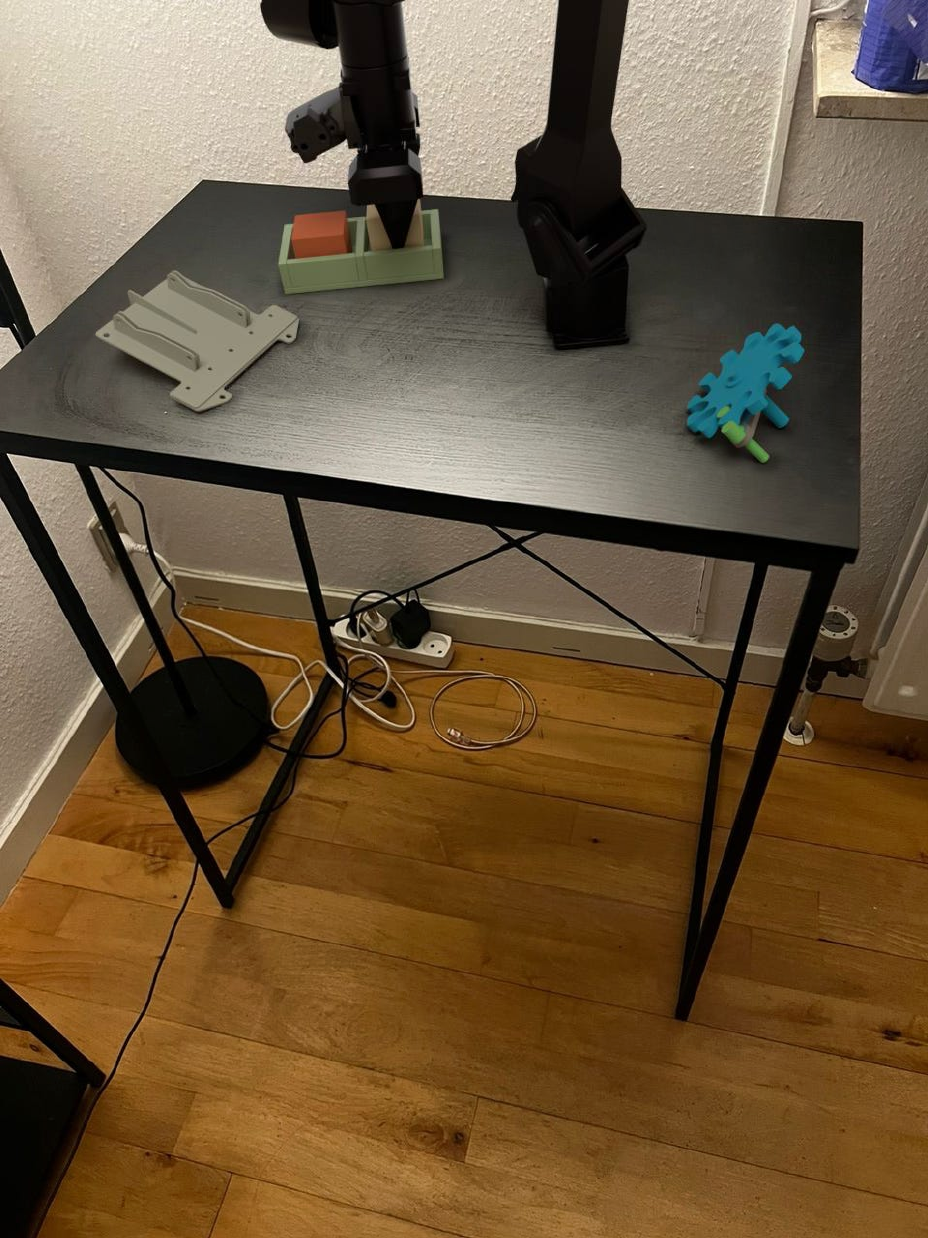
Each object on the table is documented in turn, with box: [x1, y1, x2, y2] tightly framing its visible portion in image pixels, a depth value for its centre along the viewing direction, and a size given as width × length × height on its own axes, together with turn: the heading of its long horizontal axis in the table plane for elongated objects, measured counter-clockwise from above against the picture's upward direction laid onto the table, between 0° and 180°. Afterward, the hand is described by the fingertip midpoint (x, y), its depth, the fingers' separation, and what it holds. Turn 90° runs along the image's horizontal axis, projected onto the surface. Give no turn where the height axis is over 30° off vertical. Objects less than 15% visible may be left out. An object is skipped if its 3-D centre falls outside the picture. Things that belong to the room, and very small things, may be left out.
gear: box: [686, 323, 805, 464], centre depth 70 cm, size 11×6×10 cm
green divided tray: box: [277, 208, 445, 295], centre depth 92 cm, size 15×8×3 cm, turn 93°
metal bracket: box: [95, 270, 300, 413], centre depth 84 cm, size 14×6×15 cm
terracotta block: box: [291, 209, 352, 259], centre depth 91 cm, size 5×5×4 cm
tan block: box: [366, 198, 424, 251], centre depth 90 cm, size 5×5×4 cm
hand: (398, 235), depth 91 cm, fingers closed on tan block, 5 cm apart
